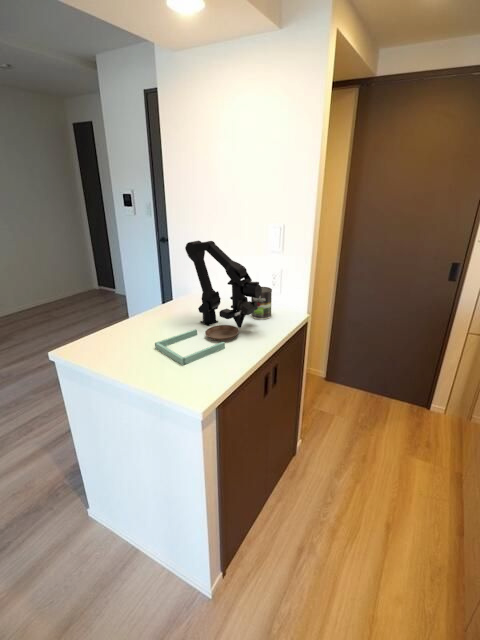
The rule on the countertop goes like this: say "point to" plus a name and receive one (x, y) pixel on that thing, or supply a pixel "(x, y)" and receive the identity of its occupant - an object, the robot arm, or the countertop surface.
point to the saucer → (222, 332)
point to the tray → (191, 357)
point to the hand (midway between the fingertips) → (239, 327)
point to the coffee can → (263, 304)
